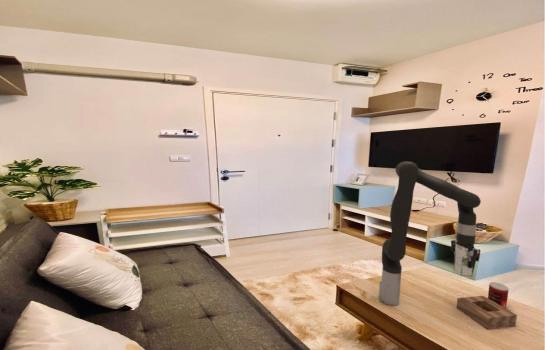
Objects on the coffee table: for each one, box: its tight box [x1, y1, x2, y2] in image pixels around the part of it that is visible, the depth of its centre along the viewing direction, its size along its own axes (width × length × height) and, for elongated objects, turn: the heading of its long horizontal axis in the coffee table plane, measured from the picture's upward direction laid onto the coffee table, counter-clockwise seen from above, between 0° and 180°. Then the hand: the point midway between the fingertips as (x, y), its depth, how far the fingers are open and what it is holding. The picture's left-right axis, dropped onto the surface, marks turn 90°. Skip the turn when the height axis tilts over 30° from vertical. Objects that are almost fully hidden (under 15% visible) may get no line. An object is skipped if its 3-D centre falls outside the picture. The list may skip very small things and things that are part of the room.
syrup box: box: [453, 244, 474, 277], centre depth 128 cm, size 6×6×14 cm
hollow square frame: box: [456, 295, 518, 330], centre depth 126 cm, size 16×16×6 cm
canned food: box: [487, 281, 509, 309], centre depth 136 cm, size 8×8×11 cm
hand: (463, 264), depth 128 cm, fingers closed on syrup box, 6 cm apart
